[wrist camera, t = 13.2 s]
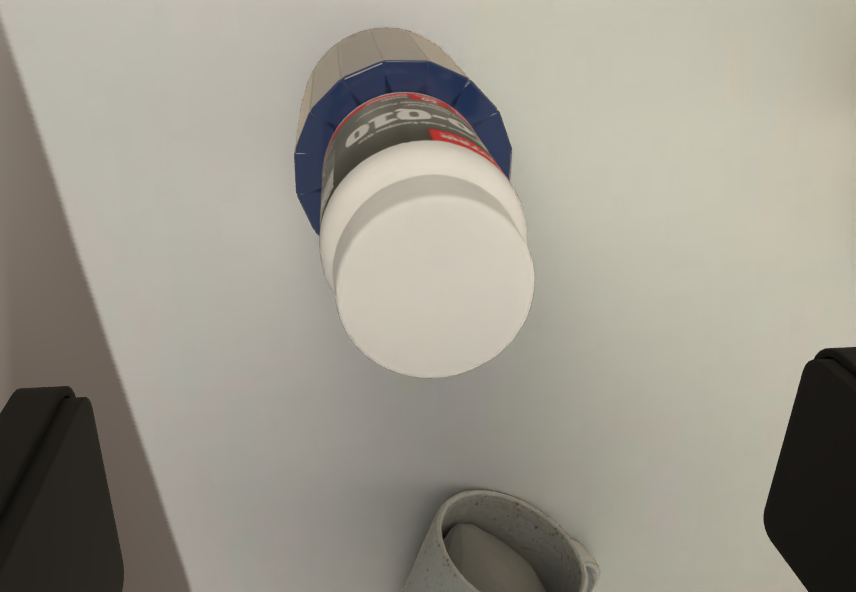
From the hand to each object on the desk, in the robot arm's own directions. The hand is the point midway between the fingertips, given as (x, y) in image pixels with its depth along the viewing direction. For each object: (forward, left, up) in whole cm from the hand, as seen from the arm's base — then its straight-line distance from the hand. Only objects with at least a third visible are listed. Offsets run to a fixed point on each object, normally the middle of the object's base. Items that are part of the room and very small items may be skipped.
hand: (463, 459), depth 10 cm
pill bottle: (0, 0, -14) cm, 14 cm away
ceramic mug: (+20, -12, -22) cm, 32 cm away
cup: (0, 0, -22) cm, 22 cm away
